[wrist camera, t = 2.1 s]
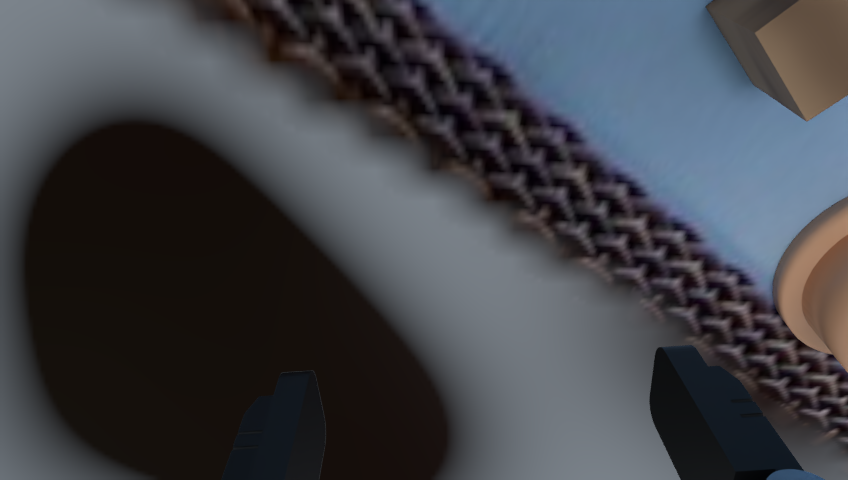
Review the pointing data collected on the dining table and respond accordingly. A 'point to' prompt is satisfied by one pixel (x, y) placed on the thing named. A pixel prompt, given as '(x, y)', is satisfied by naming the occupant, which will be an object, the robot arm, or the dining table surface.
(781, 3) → the walnut block
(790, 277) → the upside-down peach bowl
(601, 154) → the dining table surface
